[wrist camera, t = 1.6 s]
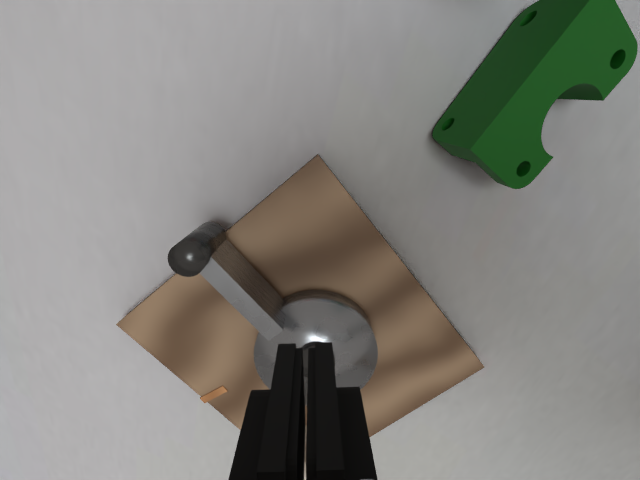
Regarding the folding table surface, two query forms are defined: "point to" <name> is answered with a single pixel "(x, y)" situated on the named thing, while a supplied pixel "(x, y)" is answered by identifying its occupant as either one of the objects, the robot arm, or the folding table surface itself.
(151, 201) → the folding table surface
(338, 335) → the crank wheel
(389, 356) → the stand base
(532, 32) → the clamp
